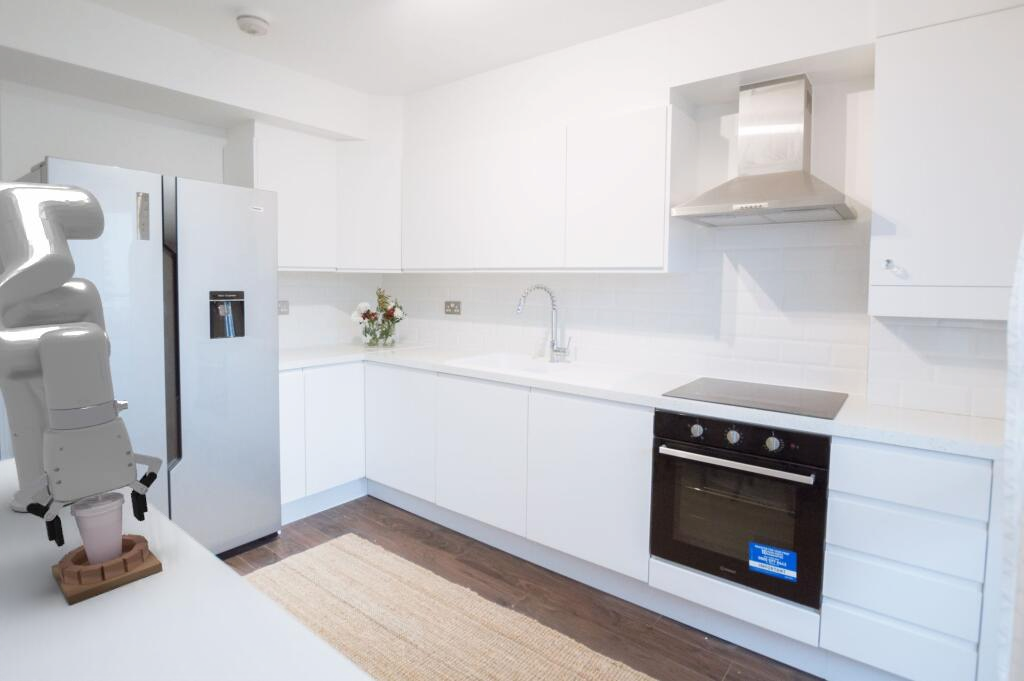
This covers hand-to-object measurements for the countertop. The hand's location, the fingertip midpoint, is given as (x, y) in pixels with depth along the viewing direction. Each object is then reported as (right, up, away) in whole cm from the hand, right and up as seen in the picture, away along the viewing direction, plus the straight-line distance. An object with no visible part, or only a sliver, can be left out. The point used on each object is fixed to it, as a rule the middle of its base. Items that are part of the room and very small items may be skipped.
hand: (101, 530), depth 83 cm
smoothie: (0, -5, +1) cm, 6 cm away
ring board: (0, -6, +1) cm, 6 cm away
